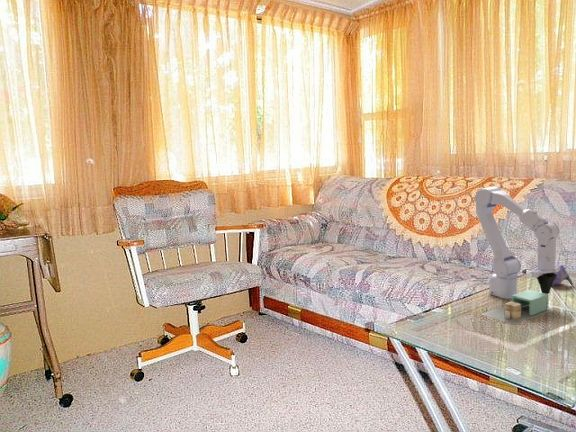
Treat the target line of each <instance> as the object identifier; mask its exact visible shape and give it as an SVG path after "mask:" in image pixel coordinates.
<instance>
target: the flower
mask: <svg viewBox="0 0 576 432" xmlns="http://www.w3.org/2000/svg"><path fill="white" fill-rule="evenodd" d="M553 273H554V272H553ZM554 274H557V277H556V278H555V280H554V281H553V283H552V286H551V287H556V286H558V285H560V284H561V283H562V282H563V281H565V280H566V281H568V283H569V285H570V284H571V285H574V283H573V281H572V279H571V278H570V276H569V275H570V274H569V273H568V272H567V269H566V268H565V266H564V265H560V271H558V272H556V273H554ZM571 285H570V286H571Z"/></svg>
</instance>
